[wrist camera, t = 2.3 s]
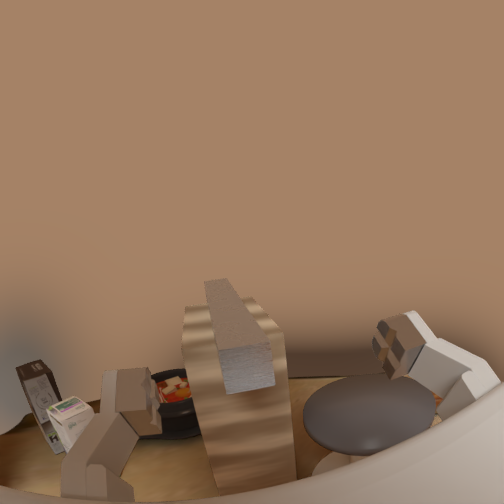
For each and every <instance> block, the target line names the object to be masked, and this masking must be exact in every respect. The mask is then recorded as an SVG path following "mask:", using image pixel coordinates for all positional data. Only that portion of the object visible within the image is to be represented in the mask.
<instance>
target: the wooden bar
mask: <svg viewBox="0 0 504 504" xmlns="http://www.w3.org/2000/svg"><path fill="white" fill-rule="evenodd" d="M204 284H205V290H206V297H207V303H208V309H209V314H210V319H211V324H212V329H213V334H214V339H215V344H216V348H217V353H218V358H219V363H220V367H221V372H222V376H223V381H224V385H225V390H226V394H233V393H239V392H244V391H250V390H255V389H260V388H265V387H270V386H274V385H275V377H274V368H273V360H272V351H271V343H270V340H269V338H268V337H267V336H266V334H265V333H264V331H263V330H262V329H261V327H260V326H259V324H258V323H257V322H256V320H255V319H254V317H253V316H252V314H251V313H250V312H249V310H248V309H247V307H246V306H245V304H244V303H243V302H242V300H241V299H240V297H239V296H238V294H237V293H236V292H235V290H234V289H233V287H232V286H231V284H230V283H229V281H228V280H227V279H226V278H225V279H218V280H212V281H205V282H204Z"/></svg>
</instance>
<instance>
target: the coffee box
mask: <svg viewBox="0 0 504 504" xmlns="http://www.w3.org/2000/svg"><path fill="white" fill-rule="evenodd" d="M16 371H17V374H18V377H19V379H20V382H21V385H22V387H23V390H24V392H25V395H26V397H27V400H28V403H29V405H30V407H31V410H32V412H33V414H34V416H35V419H36V421H37V423H38V425H39V427H40V429H41V432H42V434H43V436H44V437H45V439H46V441H47V442H48V444H49V445H50V447H51V448H52V450H53V451H54V453H55V454H58V453H61V452H63V451H65V450H64V448H63V446H62V444H61V442H60V440H59V438H58V436H57V434H56V432H55V429H54V427H53V425H52V423H51V421H50V418H49V416H48V413H47V411H46V408H48V407H50V406H52V405H54V404H56V403H59V402H61V401H62V398H61V396H60V393H59V391H58V387H57V385H56V382H55V379H54V376H53V373H52V371H51V370H50V369H49V368H48V367H47V366H46V365H45V364H44V363H43V362H42V360H37V361H33V362H30V363H27V364H24V365H22V366H19V367H16Z"/></svg>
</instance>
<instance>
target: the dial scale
mask: <svg viewBox="0 0 504 504" xmlns="http://www.w3.org/2000/svg"><path fill="white" fill-rule="evenodd" d="M435 410H436V401H435V398H434V396H433V394H432V392H431V391H430V390H429V389H428V388H426V387H425V386H423V385H422V384H420V383H419V382H417V381H416V380H413V379H411V378H408V377H404V376H401V377H398V378H396V379H393V380H390V379H389V378H388V376H387V374H364V375H357V376H351V377H347V378H343V379H340V380H337V381H334V382H332V383H330V384H327V385H325V386H324V387H322V388H320V389H319V390H317V391H316V392H315V393H314V394H312V395H311V396H310V398H309V399H308V400H307V402H306V404H305V406H304V409H303V421H304V427H305V429H306V431H307V433H308V435H309V436H310V437H311V438H312V439H313V440H314V441H315V442H317V443H318V444H319V445H321V446H323V447H325V448H326V449H329V450H331V451H334V452H332V453H330V454H329V455H327V456H326V457H324V458H323V459H322V460H321V461H320V462H319V463H318V464H317V466H316V467H315V468H314V471H313V473H312V476H314V475H317V474H321V473H324V472H327V471H330V470H333V469H336V468H339V467H342V466H345V465H347V464H350V463H353V462H356V461H358V460H361V459H363V458H366V457H368V456H371V455H373V454H376V453H378V452H380V451H383V450H385V449H387V448H390V447H392V446H394V445H396V444H399V443H401V442H403V441H405V440H407V439H409V438H411V437H413V436H415V435H417V434H419V433H421V432H423V431H425V430H427V429H429V428H430V427H431V425H432V423H433V420H434V416H435Z"/></svg>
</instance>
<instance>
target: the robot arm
mask: <svg viewBox="0 0 504 504" xmlns="http://www.w3.org/2000/svg"><path fill="white" fill-rule="evenodd" d="M377 329H378V330H379V331H378V332H377V333H376V334H375V335H374V337H373V340H372V348H373V351H374V354H375V356H376V357H377V359H379V360H381V361H383V367H382V368H383V369H384V371H385V373H386V374H387V376H388V378H389V379H390V380H393V379H396V378H398V377H401V376H404V375H407V374H408V375H409V376H410V377H411V378H413V379H414V380H416V381H417V382H419V383H420V384H422V385H423V386H425V387H426V388H428V389H429V390H431V391H432V392H434V393H435V394H436V395H438V396H439V397H441V398H442V399H443V400H442V401H441V402H440V403H439V405H438V406H437V408H436V411H437V413H438V415H439V416H440V418H441V420H442V422H440V423H438V424H436V425H434V426H432V427H431V428H429V429H427V430H425V431H423V432H421V433H419V434H417V435H415V436H413V437H411V438H409V439H407V440H405V441H403V442H401V443H399V444H396V445H394V446H392V447H390V448H387V449H385V450H383V451H380V452H378V453H376V454H373V455H371V456H368V457H366V458H363V459H361V460H358V461H356V462H353V463H350V464H347V465H345V466H342V467H339V468H336V469H333V470H330V471H327V472H324V473H321V474H317V475H314V476H311V477H307V478H304V479H300V480H297V481H293V482H289V483H285V484H281V485H277V486H273V487H268V488H264V489H259V490H254V491H249V492H243V493H238V494H232V495H225V496H218V497H211V498H202V499H193V500H181V501H166V502H135V499H134V490H133V487H132V486H131V485H130V484H128V483H127V482H125V481H124V480H122V479H121V478H120V477H119V476H120V474H121V472H122V470H123V468H124V466H125V464H126V462H127V460H128V458H129V456H130V454H131V452H132V450H133V448H134V446H135V444H136V442H137V440H138V438H139V436H143V435H153V434H162V425H161V416H160V414H159V413H158V411H157V410H158V408H159V407H160V398H159V392H158V388H157V385H156V383H155V381H154V380H153V379H151V372H150V371H149V369H148V367H147V368H135V369H122V370H109V371H104V374H103V376H102V388H101V401H100V413H96V414H95V415H94V417H93V418H92V419H91V421H90V422H89V424H88V425H87V426H86V428H85V429H84V431H83V432H82V433H81V435H80V436H79V438H78V439H77V440H76V442H75V443H74V445H73V446H72V447H71V449H70V450H69V452H68V453H67V455H66V456H65V457H64V459H63V460H62V465H61V497H55V496H49V495H43V494H37V493H32V492H27V491H22V490H17V489H13V488H9V487H5V486H1V485H0V504H504V382H502V383H501V382H500V380H499V379H498V377H497V376H496V375H495V373H494V372H493V370H492V369H491V368H490V366H489V365H488V364H487V362H486V361H485V360H484V359H482V358H480V357H478V356H476V355H474V354H472V353H469V352H467V351H465V350H463V349H461V348H459V347H457V346H455V345H453V344H451V343H449V342H447V341H445V340H443V339H441V338H439V339H437V338H436V336H435V335H434V334H433V333H432V331H431V330H430V329H429V327H428V326H427V325H426V323H425V322H424V321H423V320H422V318H421V317H420V316H419V315H418V313H417V312H415V311H414V310H413V311H409V312H406V313H404V314H399V315H396V316H393V317H389V318H386V319H383V320H381V321H380V322H379V323H378V325H377Z"/></svg>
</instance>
